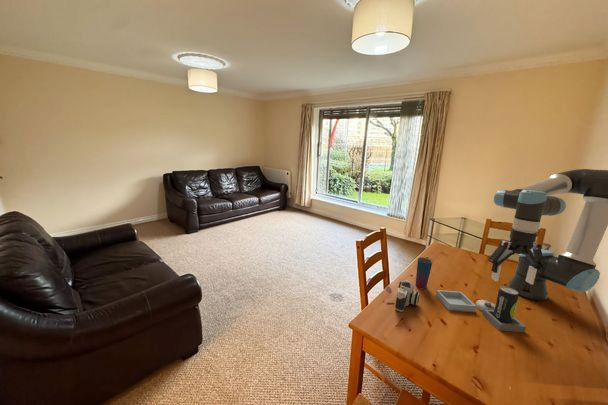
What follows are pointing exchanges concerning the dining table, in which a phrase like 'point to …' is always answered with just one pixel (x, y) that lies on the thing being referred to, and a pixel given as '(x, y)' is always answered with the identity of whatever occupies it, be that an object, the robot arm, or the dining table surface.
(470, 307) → the tray
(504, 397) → the dining table surface
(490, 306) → the grey square frame
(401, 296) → the camera
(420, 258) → the cup
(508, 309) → the beverage can
